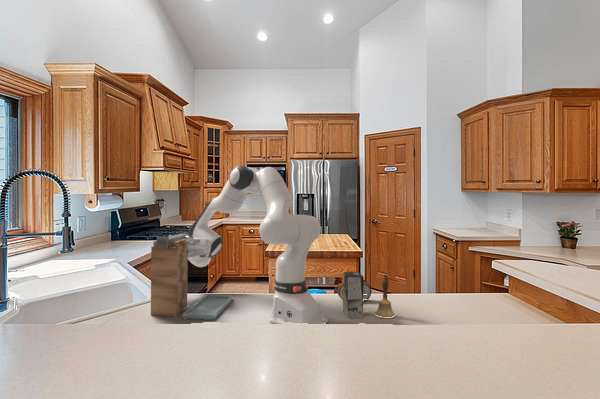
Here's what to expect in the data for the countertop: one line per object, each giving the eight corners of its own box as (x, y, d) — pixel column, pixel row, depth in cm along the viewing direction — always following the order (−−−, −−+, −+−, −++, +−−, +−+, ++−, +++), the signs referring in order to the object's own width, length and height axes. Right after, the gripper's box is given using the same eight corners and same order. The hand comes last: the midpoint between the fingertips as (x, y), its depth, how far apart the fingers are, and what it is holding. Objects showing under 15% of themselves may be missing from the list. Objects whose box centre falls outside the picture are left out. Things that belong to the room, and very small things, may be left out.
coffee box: (363, 318, 129) (364, 276, 129) (347, 318, 129) (347, 276, 129) (357, 310, 139) (358, 271, 138) (342, 310, 138) (343, 271, 138)
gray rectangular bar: (180, 240, 147) (180, 231, 147) (189, 240, 147) (189, 231, 146) (156, 247, 127) (156, 237, 127) (167, 248, 127) (167, 237, 127)
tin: (370, 299, 153) (370, 281, 153) (371, 301, 150) (372, 282, 150) (337, 299, 153) (337, 280, 152) (338, 301, 150) (338, 282, 149)
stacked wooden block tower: (163, 306, 139) (164, 238, 139) (187, 307, 138) (187, 238, 138) (150, 315, 129) (151, 241, 129) (176, 316, 128) (176, 242, 128)
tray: (205, 298, 150) (205, 294, 150) (232, 300, 149) (232, 295, 149) (182, 318, 126) (182, 313, 126) (213, 320, 125) (214, 315, 125)
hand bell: (369, 313, 136) (370, 273, 136) (386, 310, 139) (387, 271, 139) (382, 320, 128) (383, 278, 128) (400, 317, 132) (401, 276, 131)
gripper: (171, 242, 157) (158, 229, 145) (214, 243, 155) (205, 231, 143) (168, 255, 154) (154, 243, 142) (212, 256, 152) (202, 245, 140)
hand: (180, 237), depth 142 cm, fingers closed on gray rectangular bar, 3 cm apart
